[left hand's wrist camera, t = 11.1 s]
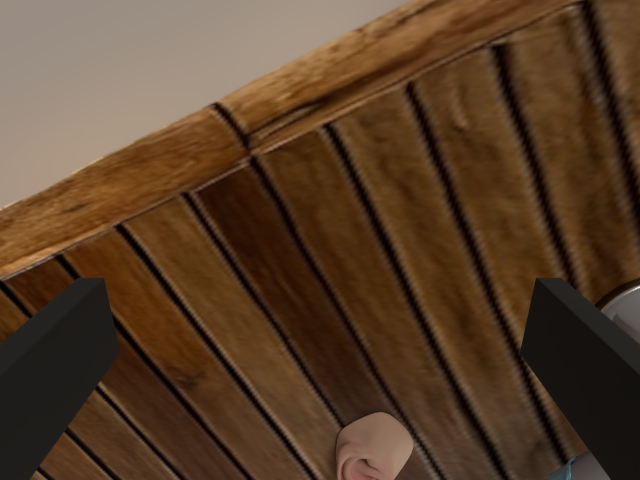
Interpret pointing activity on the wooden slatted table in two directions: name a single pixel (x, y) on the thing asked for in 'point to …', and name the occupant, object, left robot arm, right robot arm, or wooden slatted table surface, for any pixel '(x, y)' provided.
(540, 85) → the wooden slatted table surface
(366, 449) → the anatomical model
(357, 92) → the wooden slatted table surface
